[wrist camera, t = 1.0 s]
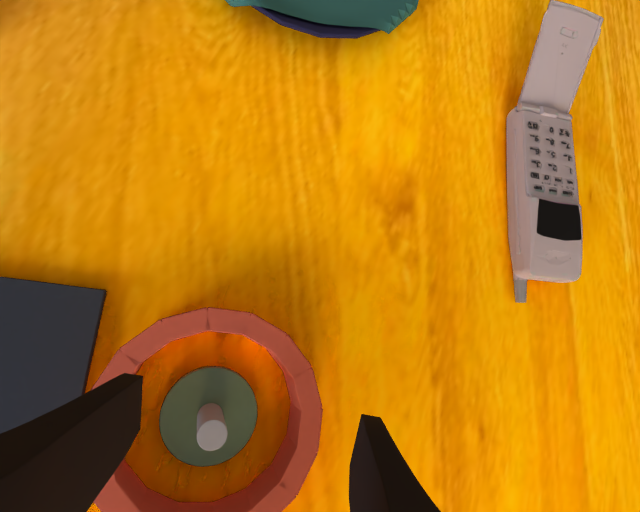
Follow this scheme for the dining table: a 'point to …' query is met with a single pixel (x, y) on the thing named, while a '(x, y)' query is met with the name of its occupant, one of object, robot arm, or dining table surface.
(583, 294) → the dining table surface
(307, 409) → the ring
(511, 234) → the mobile phone
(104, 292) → the mat
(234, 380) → the post stand
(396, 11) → the cutlery set
